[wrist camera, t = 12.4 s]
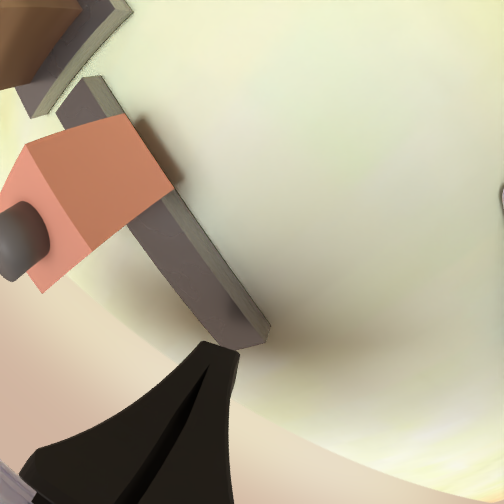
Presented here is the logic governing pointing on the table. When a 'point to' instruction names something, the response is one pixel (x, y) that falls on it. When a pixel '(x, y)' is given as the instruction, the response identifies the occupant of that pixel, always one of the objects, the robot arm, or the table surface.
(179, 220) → the rail
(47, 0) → the block
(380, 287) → the table surface
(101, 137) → the lever handle
